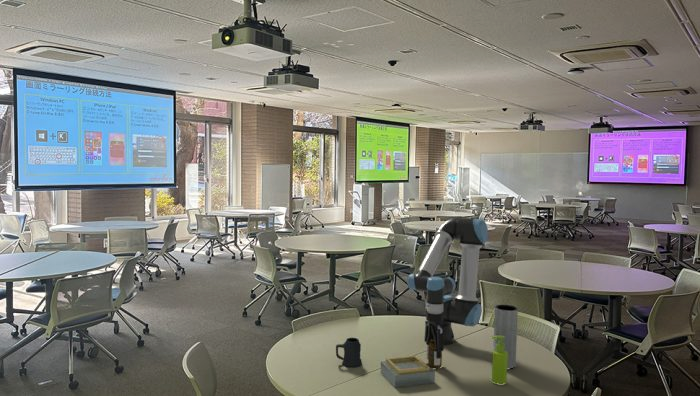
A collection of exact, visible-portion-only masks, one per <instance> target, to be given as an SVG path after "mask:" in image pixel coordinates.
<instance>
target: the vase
mask: <svg viewBox="0 0 700 396" xmlns="http://www.w3.org/2000/svg"><path fill="white" fill-rule="evenodd" d="M518 314H519V312H518V308H517V306H514V305H509V304H497V305H495V306H494V317H493V318H494V322H493V324H494V325H493V326H494V327H493V336H496V335H499V336H504V337H505V339H503V344H505V349H504V351H506V352H507V368H512V367H515V368H516V366H515V365H516V363H517V361H516V360H517V340H518V339H517V337H518ZM498 341H499V338H495V339H493V350H492V352H493V351H494V350H496V344H497V343H498Z"/></svg>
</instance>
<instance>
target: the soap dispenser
mask: <svg viewBox="0 0 700 396" xmlns="http://www.w3.org/2000/svg"><path fill="white" fill-rule="evenodd" d="M490 338H491V339H492V340H494V339H495V338H499V341H498V343H497V344H496V350H494V351H493V350H492V364H491V365H492V367H491V369H492V370H491V382H492V381H493V382H495V383H499V384H503V383H506V384H507V378H508V377H507V375H508V369H507V352H506V351H504V349H505V344H503V339H505V337H504V336H499V335H496V336H494V335H491V336H490Z"/></svg>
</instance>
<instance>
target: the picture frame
mask: <svg viewBox="0 0 700 396" xmlns="http://www.w3.org/2000/svg"><path fill="white" fill-rule="evenodd" d="M380 374H381V375H382V376H383V377H384V378H385V380H387V381H388V382H389V383H390V385H392V387H394V388H395V389H396V388H397V389H398V388H406V387H412V386H420V385H428V384H429V385H430V384H435V382H436V381H435V379H436V378H435V377H436V371H435V370H433V369H432V368H430V367H429V366H428V365H427V364H426V363H425V362H424V361H423V360H422V359H421V358H420V357H418V356H416V355H410V356H409V355H408V356H400V357H390V358H385V361H383V360H382V361H380Z"/></svg>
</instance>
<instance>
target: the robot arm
mask: <svg viewBox="0 0 700 396" xmlns="http://www.w3.org/2000/svg"><path fill="white" fill-rule="evenodd" d="M488 238H489V228H488V225H487V223H486V221H485V220H483V219H480V218H471V217H469V218H468V217H459V216H457V217H452V218H449V219H447V220H445V221H444V222H443V223H442V224H440V226H439V227H438V228H437V229H436V231H435V233H434V239H433V240H432V243H431V244H430V247H429V248H428V250H427V252H426V255H425V256H424V257H423V260H422V262H421V264H420V266H419V268H418V269H417V271H416V273H411V274H409V275H408V276H407V280H406V281H407V282H406V283H407V284H406V285H407V286H408V289H410V290H413V291H419V292H426V305H425V307H426V312H425V313H426V314H425V321H424V323H425V326H424V342H425V343H426V360H428V353H429V345H430V339H434V342H435V349H436V350H434V365H440V357H441V351H442V352H444V350H445V348H444V347H445V345H450V344H453V343H454V342H455V334H454V331H453V328H452V324H456V325H462V326H465V327H475V326H477V325H478V323H479V322H480V320H481V317H482V313H483V312H482V311H483V308H482V304H480V303H479V299H478V298H477V295H476V294H477V284H478V283H477V282H478V273H479V262H480V260H479V259H480V249H482V247H484V244H485V243H487V241H488ZM453 241H459V245H460V246H461V248H462V249H461V257H460V258H461V259H460V260H461V261H460V271H459V283H458V284H459V285H458V293H457V295H456V296H455V297H454V299H453V296H452V295H450V294H452V293H453V292H454V291H455V290H456V285H457V284H456V281H455V280H454V279H453V278H452V277H449V276H448V277H446V276H445V277H443V278H442V277H439V276H434V274H435V272H436V269H437V268H438V266H439V264H440V262H441V260H442V258H443V255H444V254H445V252H446V250H447V248H448V246H449V245H451V244H452V243H453Z"/></svg>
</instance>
